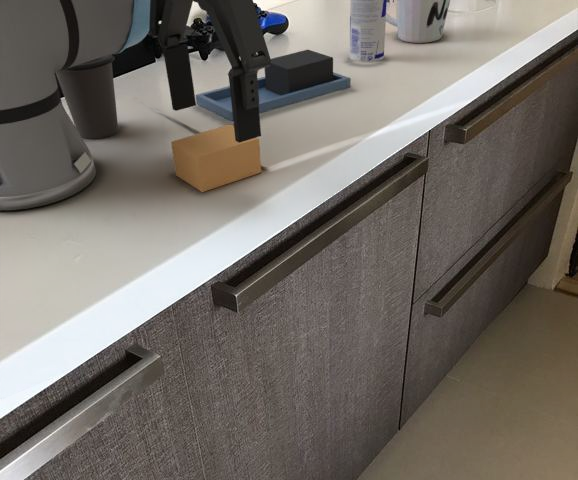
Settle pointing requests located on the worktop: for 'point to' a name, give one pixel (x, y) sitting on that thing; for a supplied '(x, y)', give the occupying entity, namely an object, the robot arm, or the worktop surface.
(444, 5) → the mug
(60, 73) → the coffee cup
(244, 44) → the robot arm
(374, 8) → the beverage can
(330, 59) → the charcoal pad
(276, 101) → the tray
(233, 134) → the tan block
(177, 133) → the worktop surface
